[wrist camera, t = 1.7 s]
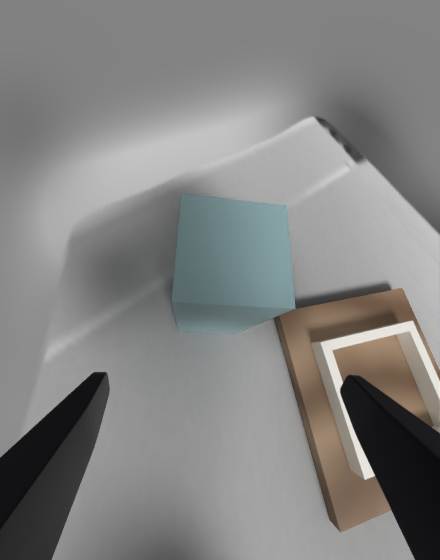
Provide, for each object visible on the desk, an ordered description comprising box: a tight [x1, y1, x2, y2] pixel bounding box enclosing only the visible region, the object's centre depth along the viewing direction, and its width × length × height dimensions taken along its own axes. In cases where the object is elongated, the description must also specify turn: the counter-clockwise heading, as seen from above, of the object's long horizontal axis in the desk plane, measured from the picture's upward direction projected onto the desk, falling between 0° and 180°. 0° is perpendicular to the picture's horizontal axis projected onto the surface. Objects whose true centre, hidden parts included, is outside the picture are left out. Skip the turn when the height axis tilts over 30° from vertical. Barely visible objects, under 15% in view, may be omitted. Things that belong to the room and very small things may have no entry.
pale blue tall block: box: [171, 194, 295, 334], centre depth 15 cm, size 5×5×12 cm
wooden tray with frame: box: [274, 288, 440, 532], centre depth 20 cm, size 16×14×3 cm
